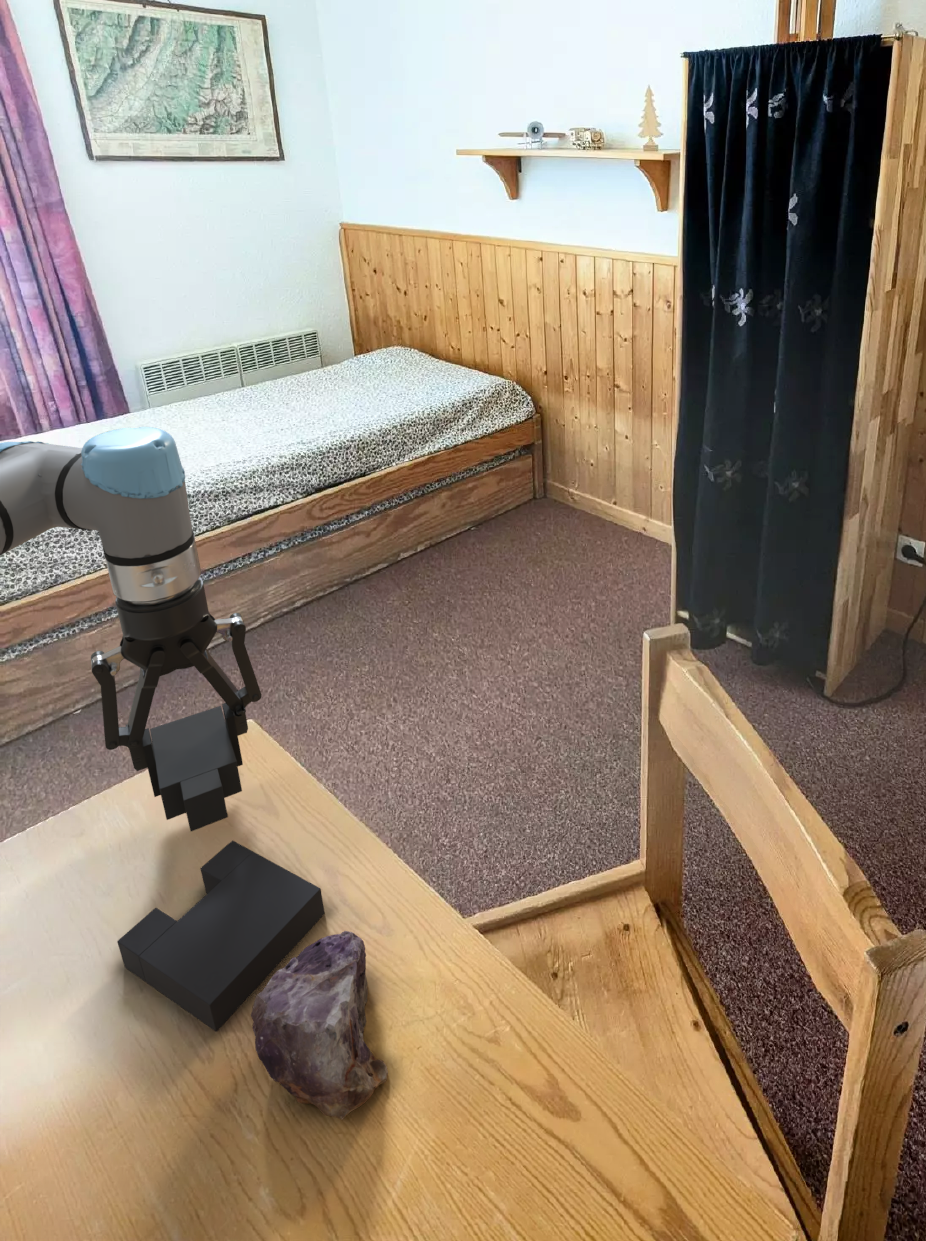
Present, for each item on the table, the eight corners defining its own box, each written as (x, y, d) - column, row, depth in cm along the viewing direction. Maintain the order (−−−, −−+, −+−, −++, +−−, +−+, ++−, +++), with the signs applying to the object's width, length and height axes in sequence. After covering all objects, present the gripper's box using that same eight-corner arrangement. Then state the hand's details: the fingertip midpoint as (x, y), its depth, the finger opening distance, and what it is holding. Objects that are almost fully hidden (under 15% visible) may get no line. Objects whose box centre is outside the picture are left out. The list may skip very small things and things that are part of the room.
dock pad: (126, 973, 71) (116, 941, 70) (238, 869, 81) (232, 840, 80) (217, 1038, 66) (209, 1005, 64) (325, 919, 76) (320, 888, 74)
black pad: (156, 757, 87) (149, 728, 85) (226, 734, 90) (220, 705, 89) (170, 840, 77) (162, 808, 75) (247, 809, 80) (241, 778, 79)
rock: (386, 989, 71) (266, 1019, 68) (380, 906, 69) (255, 934, 66) (389, 1120, 60) (245, 1163, 57) (381, 1026, 58) (232, 1065, 55)
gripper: (33, 637, 68) (89, 838, 77) (276, 575, 79) (303, 757, 87) (35, 597, 74) (87, 787, 82) (260, 543, 85) (287, 717, 93)
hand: (197, 772), depth 85 cm, fingers closed on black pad, 7 cm apart
